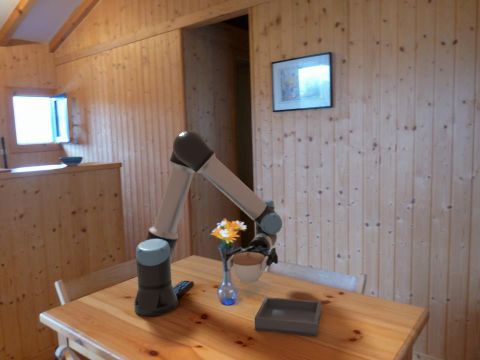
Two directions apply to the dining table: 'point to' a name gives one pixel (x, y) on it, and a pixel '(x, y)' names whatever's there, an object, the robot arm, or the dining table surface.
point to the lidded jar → (248, 266)
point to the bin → (289, 316)
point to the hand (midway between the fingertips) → (245, 266)
